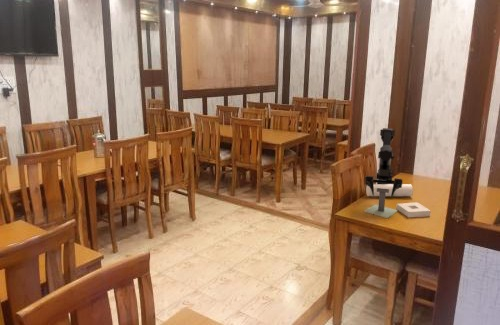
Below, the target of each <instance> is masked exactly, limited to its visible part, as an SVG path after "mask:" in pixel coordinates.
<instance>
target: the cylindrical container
mask: <svg viewBox="0 0 500 325" xmlns="http://www.w3.org/2000/svg"><path fill="white" fill-rule="evenodd" d="M393 185H394V184H377V183H373V186H374V195H373V194H372V191H371V189H370V187H369V186H367V185H366V186H365V188H366V189H365V192H366V196H367V197H379V194H380V192H377V188H381V189H389V193H386V195H385V197H391V194H392V189H393ZM413 192H414V188H413V185H412V184H411V183H408V184H407V183H406V184H405V183H402V188H399V189H396V191H395V192H394V194H393V196H392V197H412V196H413Z"/></svg>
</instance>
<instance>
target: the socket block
mask: <svg viewBox="0 0 500 325" xmlns="http://www.w3.org/2000/svg"><path fill="white" fill-rule="evenodd" d="M395 210H398V212H400V213H401V214H402V215H405V217H407V218H408V219H409V218H422V217H423V218H424V217H431V210H430V209H429V208H427V207H426V206H424V205H423V204H421V203H419V202H406V203H405V202H403V203H396V209H395Z"/></svg>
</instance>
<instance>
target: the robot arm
mask: <svg viewBox="0 0 500 325" xmlns="http://www.w3.org/2000/svg"><path fill="white" fill-rule="evenodd" d="M379 133H380V134H379V136H380V140H381V141H382V146H381V147H380V148H379V149H380V150H379V151H378V154H377V155H378V156H377V159H379V162H378V163H379V164H378V170H377V172H376V178H374V176H372V175H366V176H365V179H364V184H365V185H366V187H367V186H369V187H370V189H371V191H372V194H373V195H374V186H373V184H394V185H393V189H392V194H391V196H390V197H391V198H393V197H394V196H393V194H394V192H395V191H396V189H399V188H402V184H403V179H402V178H396V177H395V178H394V180H393V175H394V169H393V168H391V162H392V160H393V159H395V154H394V152H393V148H392V147H391V143H392V142H393V140H394V137H395V136H396V129H394V128H391V127H390V128H389V127H388V128H387V127H386V128H385V127H382V129H380V132H379Z"/></svg>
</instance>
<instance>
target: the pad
mask: <svg viewBox="0 0 500 325" xmlns="http://www.w3.org/2000/svg"><path fill="white" fill-rule="evenodd" d="M378 206H379V204H373V205H372V206H370V207H369V208H366V209H365V210H364V211H363V212H364V213H366V214H369V213H370V214H369V215H373V214H374V215H373V216H377V217H381V218H384V219H389V218H391V217H392V216H393V215H394V214H396V213H397V212H399V211H398V210H397V209H395V208H390V207H387V206H384V212H381V211H378Z"/></svg>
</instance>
